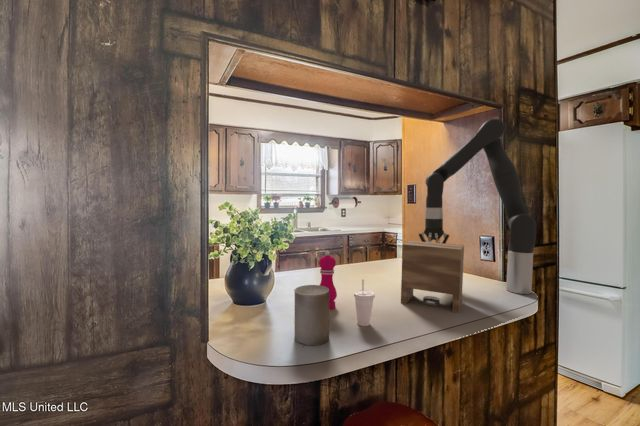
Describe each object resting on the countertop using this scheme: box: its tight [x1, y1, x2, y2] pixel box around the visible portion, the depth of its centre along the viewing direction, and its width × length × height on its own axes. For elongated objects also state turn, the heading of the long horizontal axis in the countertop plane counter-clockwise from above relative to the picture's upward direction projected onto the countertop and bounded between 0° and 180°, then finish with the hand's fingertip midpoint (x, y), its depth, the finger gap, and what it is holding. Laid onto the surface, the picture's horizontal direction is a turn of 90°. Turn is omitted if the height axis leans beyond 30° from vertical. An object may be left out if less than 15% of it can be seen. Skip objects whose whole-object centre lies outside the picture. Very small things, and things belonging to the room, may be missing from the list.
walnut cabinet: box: [400, 240, 465, 313], centre depth 122 cm, size 12×20×22 cm, turn 62°
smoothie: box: [353, 278, 376, 327], centre depth 101 cm, size 6×6×14 cm
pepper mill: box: [318, 250, 338, 310], centre depth 116 cm, size 7×7×20 cm
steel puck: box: [422, 295, 441, 307], centre depth 123 cm, size 6×6×2 cm
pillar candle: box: [293, 284, 330, 346], centre depth 90 cm, size 10×10×15 cm
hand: (433, 255), depth 149 cm, fingers closed on sage stick, 2 cm apart
